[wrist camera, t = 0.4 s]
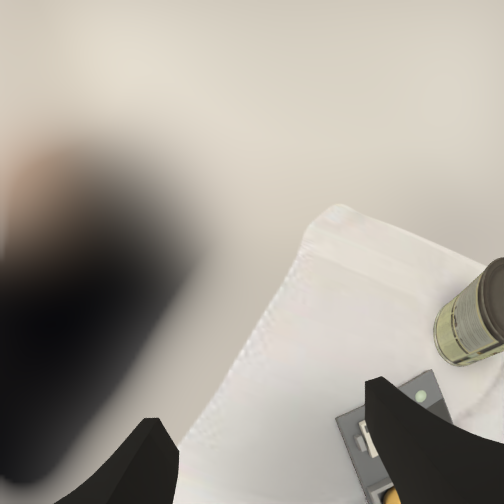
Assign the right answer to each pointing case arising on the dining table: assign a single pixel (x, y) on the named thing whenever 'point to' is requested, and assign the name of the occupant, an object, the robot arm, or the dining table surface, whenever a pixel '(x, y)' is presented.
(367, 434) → the rocker switch
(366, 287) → the dining table surface
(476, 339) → the coffee can
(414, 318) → the dining table surface
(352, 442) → the panel
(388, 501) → the push button
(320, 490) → the dining table surface
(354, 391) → the dining table surface
